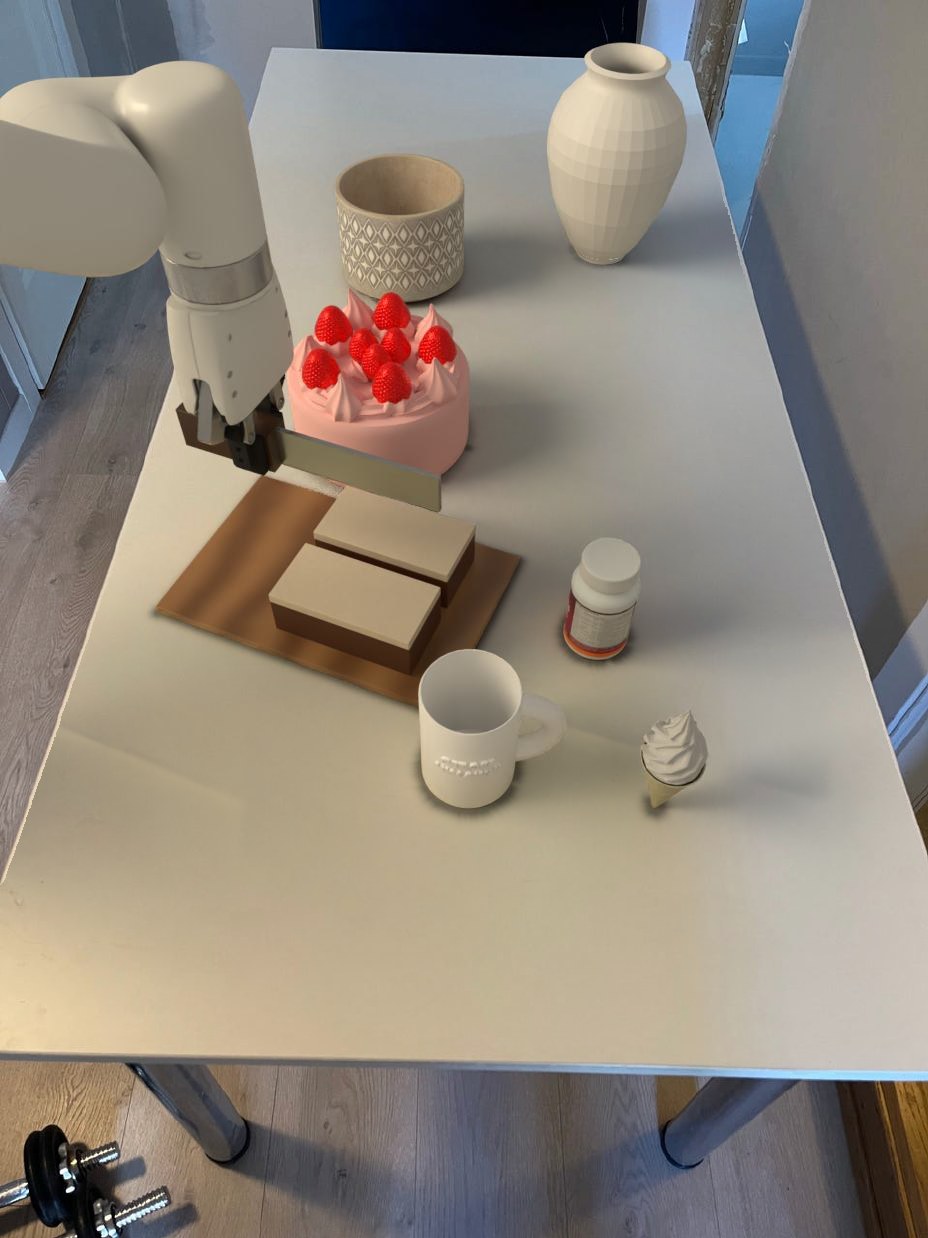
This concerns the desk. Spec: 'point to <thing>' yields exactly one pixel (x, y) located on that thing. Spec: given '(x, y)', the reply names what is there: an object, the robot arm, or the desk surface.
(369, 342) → the cake
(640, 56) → the vase
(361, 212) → the planter
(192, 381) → the robot arm
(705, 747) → the ice cream cone
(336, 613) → the cake
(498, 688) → the mug
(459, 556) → the cake
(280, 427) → the knife
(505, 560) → the cake board
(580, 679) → the desk surface
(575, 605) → the pill bottle
